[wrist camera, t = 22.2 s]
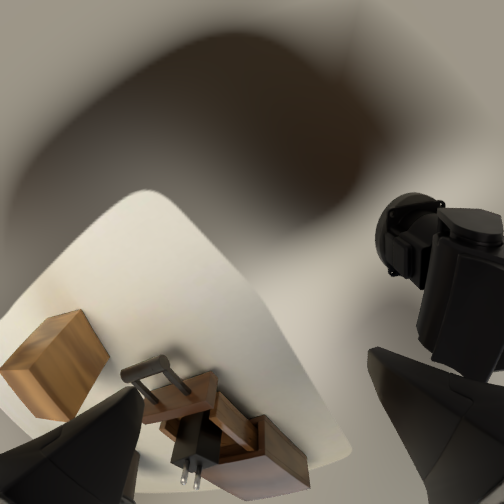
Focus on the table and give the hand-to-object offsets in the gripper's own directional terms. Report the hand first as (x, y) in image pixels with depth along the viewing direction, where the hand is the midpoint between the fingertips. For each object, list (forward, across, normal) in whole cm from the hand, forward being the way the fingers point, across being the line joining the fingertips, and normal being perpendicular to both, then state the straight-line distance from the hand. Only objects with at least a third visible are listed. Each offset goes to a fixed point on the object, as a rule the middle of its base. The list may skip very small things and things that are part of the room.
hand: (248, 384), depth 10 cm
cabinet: (+13, -5, -26) cm, 30 cm away
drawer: (+12, -8, -14) cm, 21 cm away
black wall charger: (+11, -8, -16) cm, 21 cm away
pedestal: (+14, -20, -6) cm, 25 cm away
